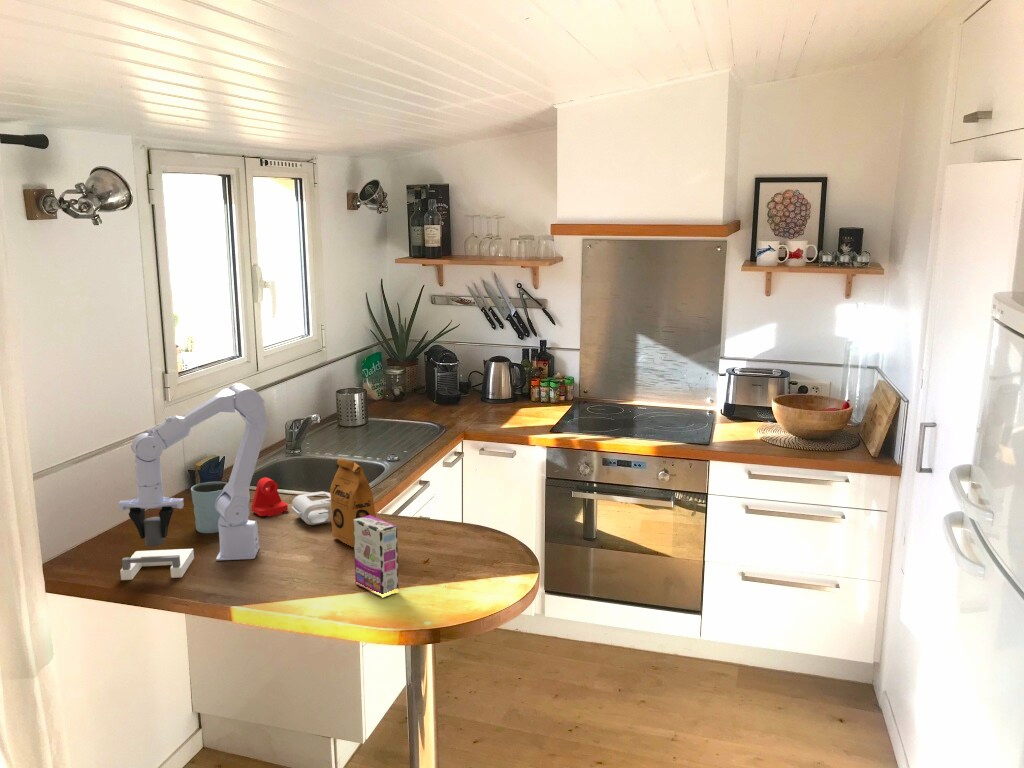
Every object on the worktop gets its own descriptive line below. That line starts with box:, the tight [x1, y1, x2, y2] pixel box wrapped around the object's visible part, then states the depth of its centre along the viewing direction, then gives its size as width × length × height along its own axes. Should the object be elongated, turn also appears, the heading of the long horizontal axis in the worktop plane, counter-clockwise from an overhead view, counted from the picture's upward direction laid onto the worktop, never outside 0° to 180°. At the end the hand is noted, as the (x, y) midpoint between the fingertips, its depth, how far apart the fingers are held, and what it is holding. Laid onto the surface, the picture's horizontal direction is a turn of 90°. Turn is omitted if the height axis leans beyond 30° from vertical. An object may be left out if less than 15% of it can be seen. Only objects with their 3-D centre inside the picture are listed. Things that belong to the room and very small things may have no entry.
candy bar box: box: [353, 515, 399, 594], centre depth 197 cm, size 11×5×16 cm, turn 45°
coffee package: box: [329, 458, 377, 548], centre depth 226 cm, size 10×12×22 cm
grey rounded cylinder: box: [143, 516, 166, 547], centre depth 207 cm, size 4×4×6 cm
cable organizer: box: [290, 491, 331, 526], centre depth 243 cm, size 7×12×12 cm
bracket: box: [251, 477, 289, 518], centre depth 249 cm, size 9×6×10 cm
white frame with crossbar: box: [119, 548, 195, 581], centre depth 209 cm, size 14×12×5 cm
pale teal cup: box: [190, 481, 228, 534], centre depth 237 cm, size 10×10×12 cm
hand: (154, 536), depth 206 cm, fingers closed on grey rounded cylinder, 4 cm apart
